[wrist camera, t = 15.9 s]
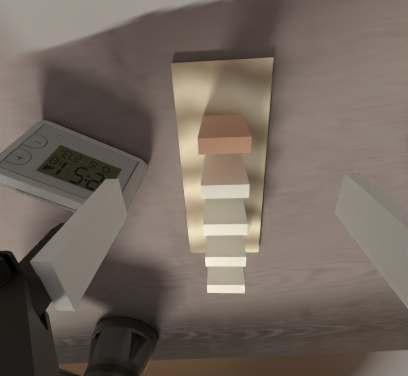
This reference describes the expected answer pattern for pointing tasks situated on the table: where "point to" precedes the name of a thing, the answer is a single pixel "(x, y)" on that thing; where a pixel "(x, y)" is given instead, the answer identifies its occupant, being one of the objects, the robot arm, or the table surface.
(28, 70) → the table surface
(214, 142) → the domino
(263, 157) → the board
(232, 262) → the domino
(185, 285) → the table surface
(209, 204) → the domino
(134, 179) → the digital clock
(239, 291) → the domino
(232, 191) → the domino
